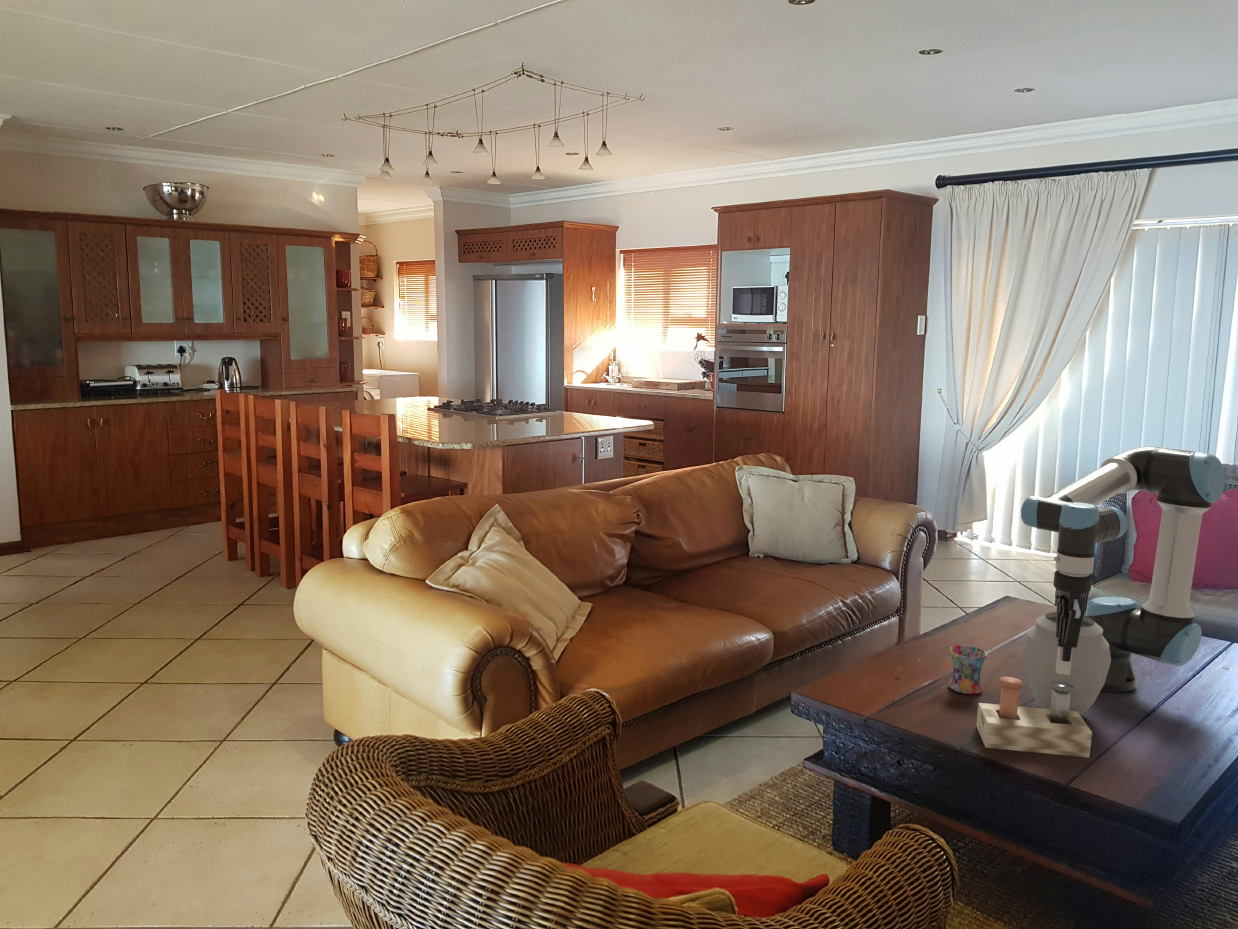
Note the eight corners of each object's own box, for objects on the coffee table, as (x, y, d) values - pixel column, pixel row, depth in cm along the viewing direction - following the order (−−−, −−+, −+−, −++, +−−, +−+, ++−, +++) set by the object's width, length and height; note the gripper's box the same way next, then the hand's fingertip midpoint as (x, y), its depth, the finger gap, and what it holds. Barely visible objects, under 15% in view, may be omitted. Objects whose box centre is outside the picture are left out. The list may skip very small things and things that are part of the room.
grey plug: (1066, 718, 211) (1070, 682, 210) (1072, 727, 207) (1076, 690, 205) (1044, 716, 212) (1048, 680, 211) (1050, 725, 208) (1053, 688, 206)
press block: (1075, 735, 215) (1077, 711, 214) (1089, 757, 204) (1092, 732, 203) (976, 726, 219) (978, 702, 218) (985, 747, 208) (987, 722, 207)
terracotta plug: (1016, 713, 214) (1019, 677, 212) (1021, 722, 209) (1024, 686, 207) (994, 711, 214) (997, 676, 213) (999, 720, 210) (1002, 684, 208)
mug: (973, 700, 234) (977, 660, 232) (940, 689, 241) (942, 650, 239) (995, 687, 242) (998, 649, 240) (961, 677, 249) (964, 640, 247)
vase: (1100, 738, 214) (1111, 638, 210) (1011, 718, 224) (1020, 622, 220) (1107, 708, 230) (1117, 615, 226) (1024, 690, 240) (1032, 601, 236)
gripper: (1047, 563, 211) (1037, 661, 214) (1063, 579, 198) (1052, 682, 202) (1082, 566, 209) (1072, 664, 213) (1100, 581, 197) (1089, 685, 200)
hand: (1062, 672), depth 207 cm, fingers closed
